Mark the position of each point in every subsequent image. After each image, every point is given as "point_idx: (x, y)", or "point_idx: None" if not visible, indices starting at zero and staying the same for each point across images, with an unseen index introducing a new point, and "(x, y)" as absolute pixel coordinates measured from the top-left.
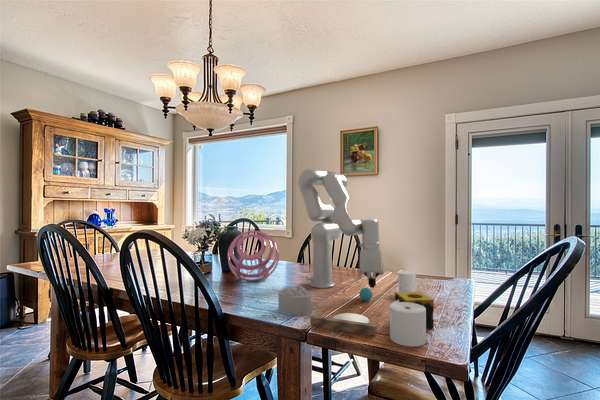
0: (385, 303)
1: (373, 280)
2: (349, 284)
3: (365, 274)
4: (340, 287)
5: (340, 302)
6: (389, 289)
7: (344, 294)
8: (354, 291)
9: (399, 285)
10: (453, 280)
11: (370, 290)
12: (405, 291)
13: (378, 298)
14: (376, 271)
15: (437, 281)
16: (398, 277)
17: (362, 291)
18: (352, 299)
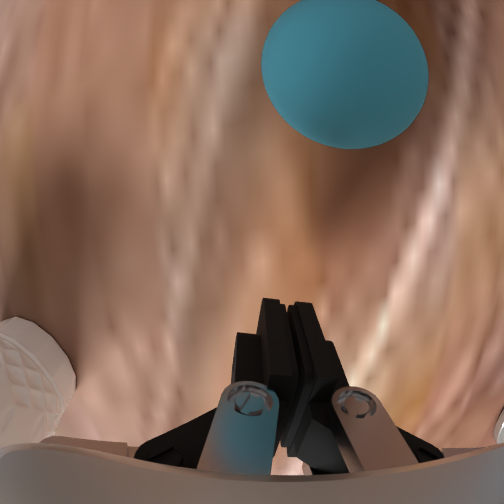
0: (134, 53)
1: (262, 378)
2: None
3: (421, 447)
4: (482, 402)
5: (500, 31)
6: None
7: (499, 251)
8: (421, 356)
9: (30, 389)
10: None
11: (291, 32)
12: (9, 335)
13: (205, 195)
14: (132, 481)
15: None
16: (8, 445)
17: (395, 12)
18: (447, 109)
